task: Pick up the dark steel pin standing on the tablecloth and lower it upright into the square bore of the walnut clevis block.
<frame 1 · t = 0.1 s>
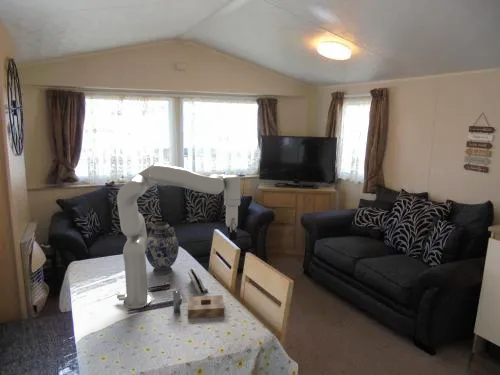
hand: (232, 236, 181), 31 cm above the table, fingers open, 9 cm apart
grey half-round piece: (197, 286, 199), on the table
pin: (177, 312, 173), on the table
decorative vase: (162, 271, 217), on the table
clevis block: (205, 310, 175), on the table
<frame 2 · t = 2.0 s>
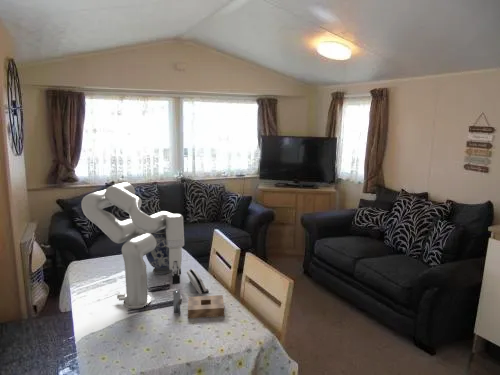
hand: (176, 278, 170), 16 cm above the table, fingers open, 9 cm apart
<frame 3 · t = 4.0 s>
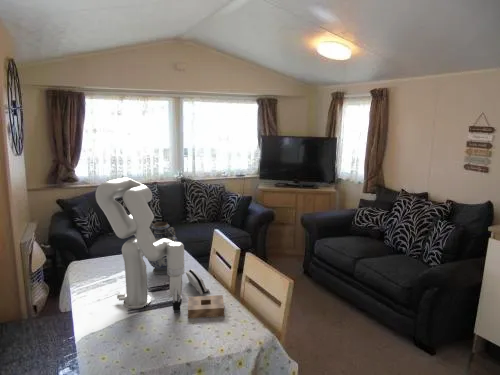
hand: (176, 307, 173), 2 cm above the table, fingers closed on pin, 3 cm apart
pin: (177, 312, 173), on the table, touching gripper
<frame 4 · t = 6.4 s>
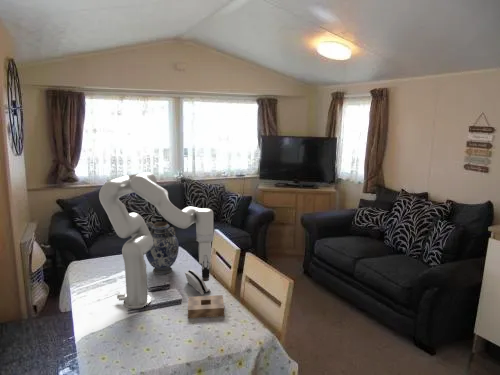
hand: (205, 275, 172), 17 cm above the table, fingers closed on pin, 3 cm apart
pin: (205, 279, 172), point 15 cm above the table, touching gripper
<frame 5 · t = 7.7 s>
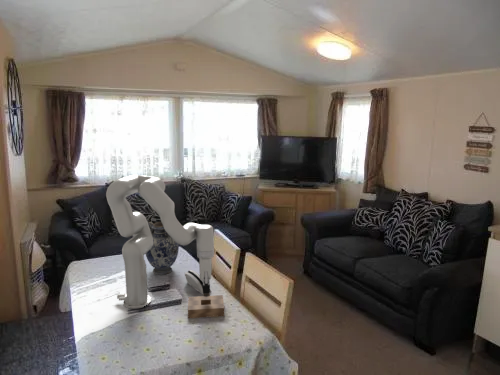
hand: (206, 290, 173), 10 cm above the table, fingers closed on pin, 3 cm apart
pin: (206, 295, 174), point 8 cm above the table, touching gripper
when the fingers open (5 cm above the table, at t = 8.9 s): pin drops 3 cm, resting in clevis block.
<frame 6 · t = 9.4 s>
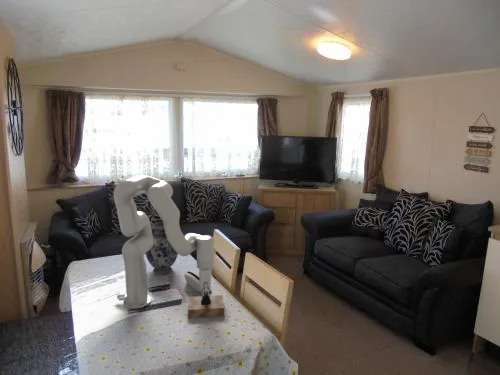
hand: (205, 298, 174), 6 cm above the table, fingers open, 9 cm apart
pin: (205, 310, 175), resting in clevis block
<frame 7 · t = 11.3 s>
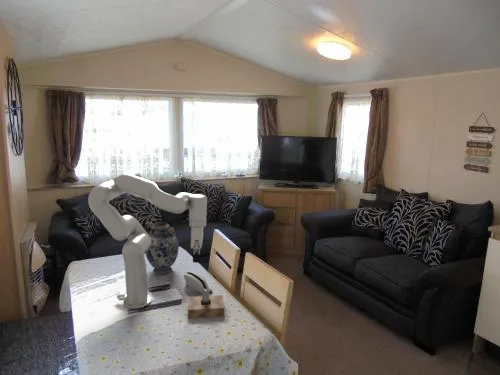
hand: (196, 258, 175), 24 cm above the table, fingers open, 9 cm apart
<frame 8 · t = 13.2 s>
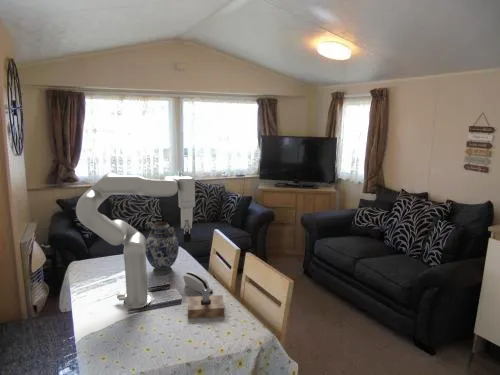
hand: (187, 238, 181), 30 cm above the table, fingers open, 9 cm apart
at the end: pin 0.0 cm off-centre on the clevis block, point 0.0 cm above the clevis block's base; pin tilted 0°; the gripper is holding nothing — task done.
